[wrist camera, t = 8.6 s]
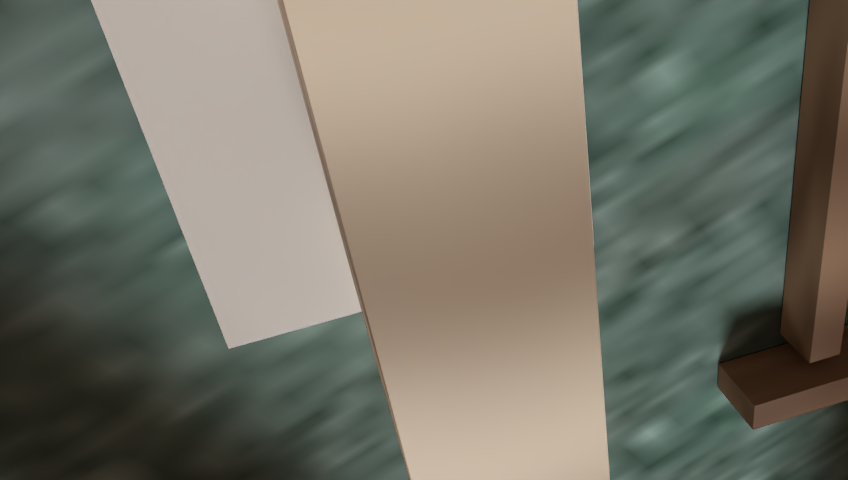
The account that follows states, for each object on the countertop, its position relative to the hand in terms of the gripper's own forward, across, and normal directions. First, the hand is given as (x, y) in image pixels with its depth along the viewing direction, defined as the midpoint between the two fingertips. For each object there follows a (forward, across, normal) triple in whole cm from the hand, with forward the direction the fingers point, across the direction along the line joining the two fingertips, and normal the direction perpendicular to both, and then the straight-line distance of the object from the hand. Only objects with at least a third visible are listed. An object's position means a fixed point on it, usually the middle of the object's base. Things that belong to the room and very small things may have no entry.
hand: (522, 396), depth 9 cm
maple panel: (+11, 0, 0) cm, 11 cm away
